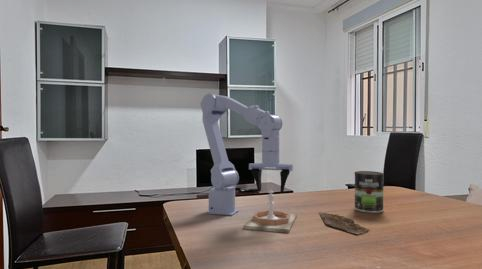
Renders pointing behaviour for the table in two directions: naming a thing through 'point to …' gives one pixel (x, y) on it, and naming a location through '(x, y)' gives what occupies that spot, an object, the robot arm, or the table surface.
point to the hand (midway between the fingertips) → (270, 191)
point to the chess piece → (271, 207)
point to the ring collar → (271, 221)
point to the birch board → (276, 228)
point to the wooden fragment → (343, 223)
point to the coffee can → (369, 191)
